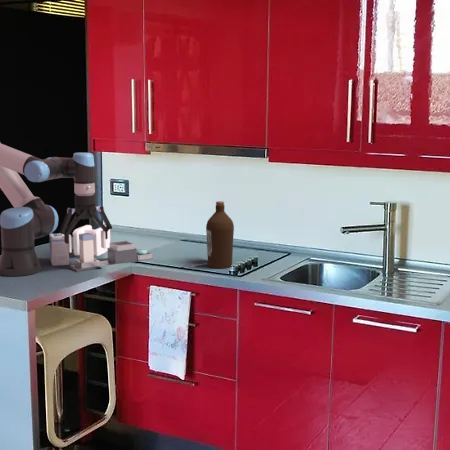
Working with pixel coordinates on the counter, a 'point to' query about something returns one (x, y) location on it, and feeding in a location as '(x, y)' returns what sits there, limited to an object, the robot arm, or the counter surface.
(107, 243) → the cable organizer
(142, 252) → the release button
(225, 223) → the olive oil
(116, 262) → the grey stepped holder
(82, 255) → the pink upright block
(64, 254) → the light bulb box
